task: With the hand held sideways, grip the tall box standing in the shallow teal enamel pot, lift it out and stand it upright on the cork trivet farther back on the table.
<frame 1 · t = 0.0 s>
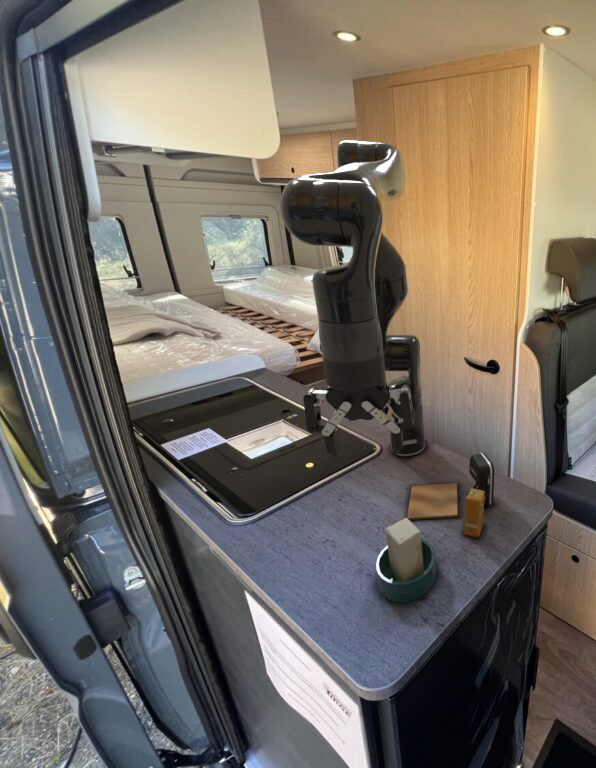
hand: (366, 452, 58), 29 cm above the counter, tool pointing down, fingers open, 8 cm apart
pot: (407, 576, 72), on the counter
box: (407, 575, 72), resting on pot
supplement box: (474, 531, 83), on the counter
trivet: (433, 501, 91), on the counter
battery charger: (480, 499, 92), on the counter
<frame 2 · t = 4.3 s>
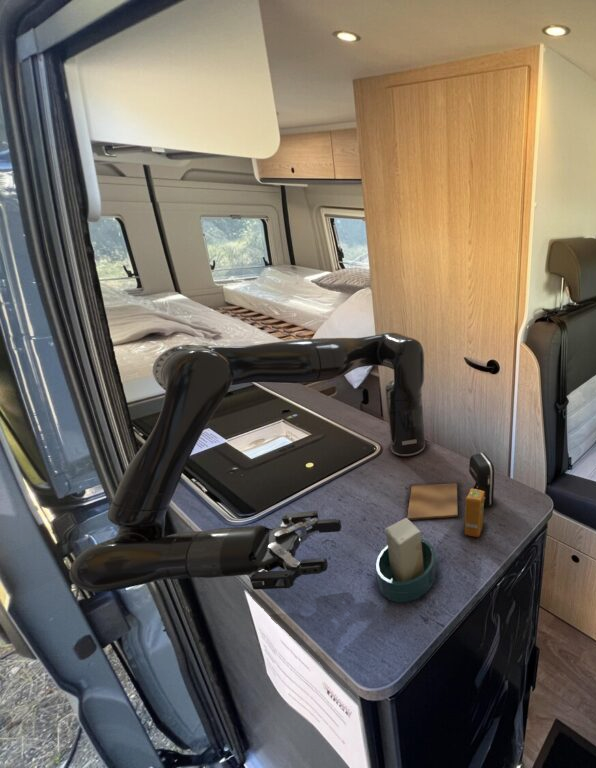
hand: (334, 543, 66), 10 cm above the counter, tool horizontal, fingers open, 8 cm apart
nothing on the counter moved.
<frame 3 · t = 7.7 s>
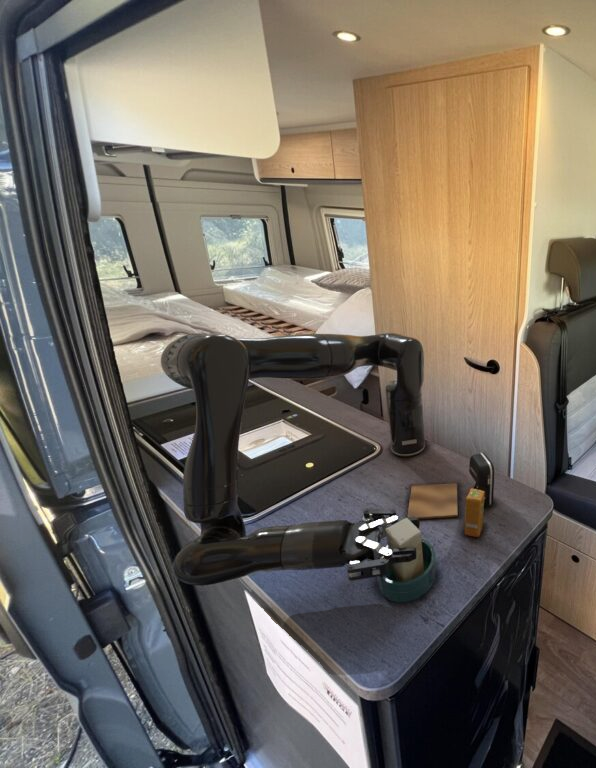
hand: (417, 537, 69), 10 cm above the counter, tool horizontal, fingers closed on box, 6 cm apart
box: (407, 575, 72), resting on pot, touching gripper
everything else where it was.
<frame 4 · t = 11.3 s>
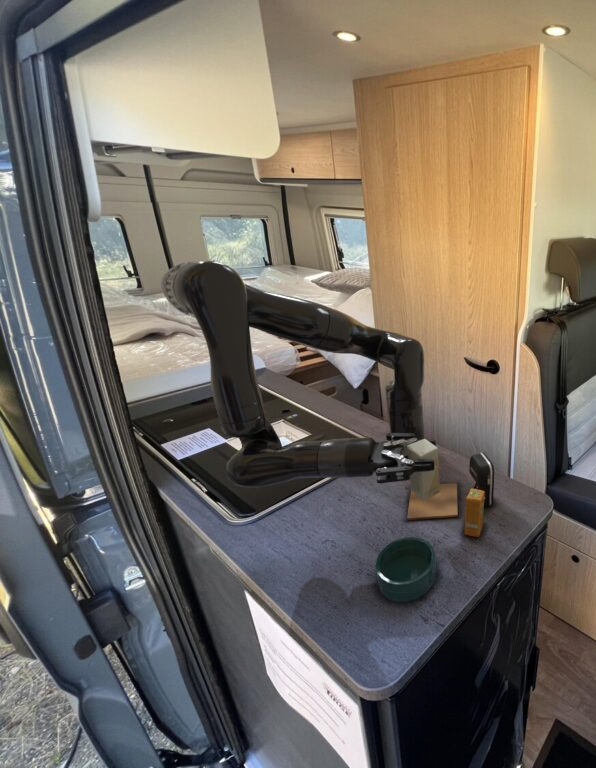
hand: (434, 454, 78), 18 cm above the counter, tool horizontal, fingers closed on box, 6 cm apart
box: (424, 491, 81), point 8 cm above the counter, touching gripper
everything else where it was.
when the fingers open (10 cm above the counter, at t = 14.9 s): box stays where it is, resting on trivet.
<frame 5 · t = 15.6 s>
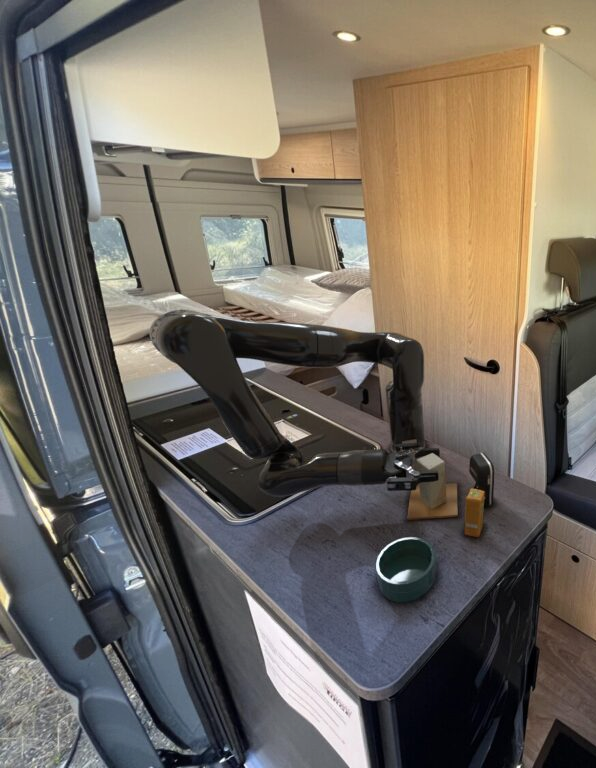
hand: (439, 463, 87), 11 cm above the counter, tool horizontal, fingers open, 8 cm apart
box: (433, 500, 90), resting on trivet
everything else where it was.
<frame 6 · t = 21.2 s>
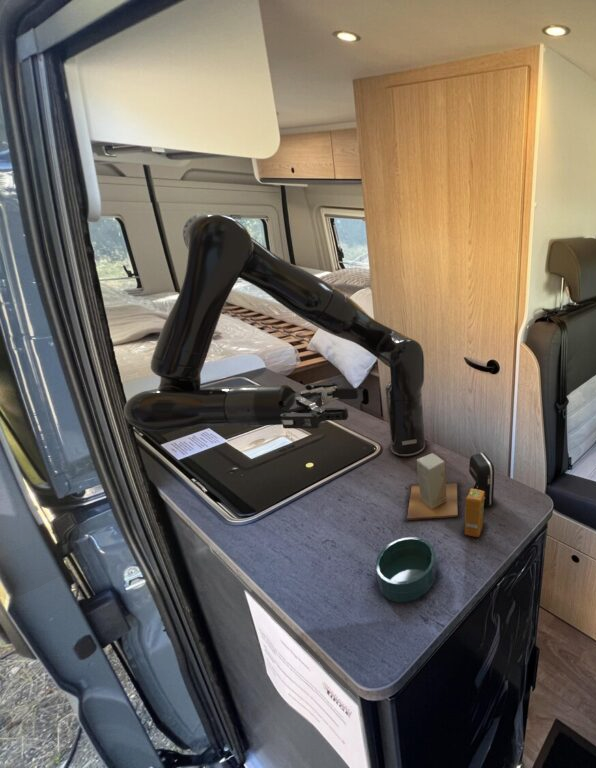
hand: (352, 402, 74), 28 cm above the counter, tool horizontal, fingers open, 8 cm apart
nothing on the counter moved.
at the end: box inside the target area on the trivet (0.1 cm from its centre), point 0.4 cm above the trivet's base; box tilted 0°; box touching trivet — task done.
